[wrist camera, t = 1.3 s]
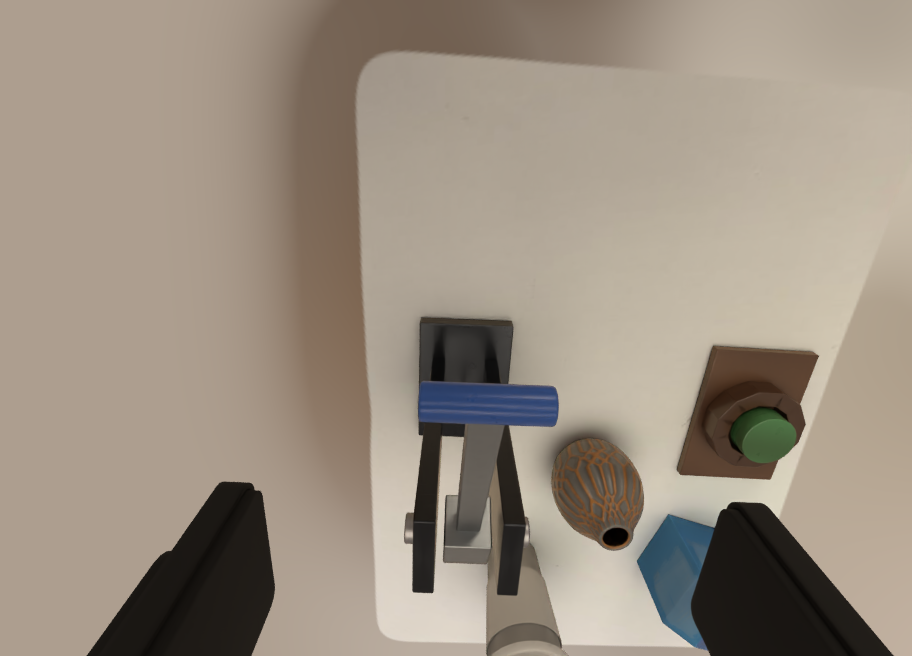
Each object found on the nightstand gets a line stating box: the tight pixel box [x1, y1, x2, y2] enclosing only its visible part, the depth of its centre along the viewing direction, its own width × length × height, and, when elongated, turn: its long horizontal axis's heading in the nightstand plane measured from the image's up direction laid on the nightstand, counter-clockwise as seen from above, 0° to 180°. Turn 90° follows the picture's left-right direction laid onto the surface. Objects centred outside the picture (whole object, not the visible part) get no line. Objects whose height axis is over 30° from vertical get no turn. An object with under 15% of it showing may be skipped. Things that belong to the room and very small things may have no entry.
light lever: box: [418, 381, 559, 564], centre depth 19 cm, size 14×4×2 cm, turn 177°
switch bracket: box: [404, 318, 530, 596], centre depth 30 cm, size 10×7×18 cm
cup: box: [486, 543, 568, 656], centre depth 40 cm, size 7×7×12 cm
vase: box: [551, 439, 644, 551], centre depth 37 cm, size 7×7×9 cm
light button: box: [730, 407, 796, 463], centre depth 36 cm, size 4×4×2 cm
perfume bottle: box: [637, 515, 715, 650], centre depth 39 cm, size 6×6×12 cm
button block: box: [677, 346, 819, 480], centre depth 38 cm, size 12×8×2 cm, turn 177°
